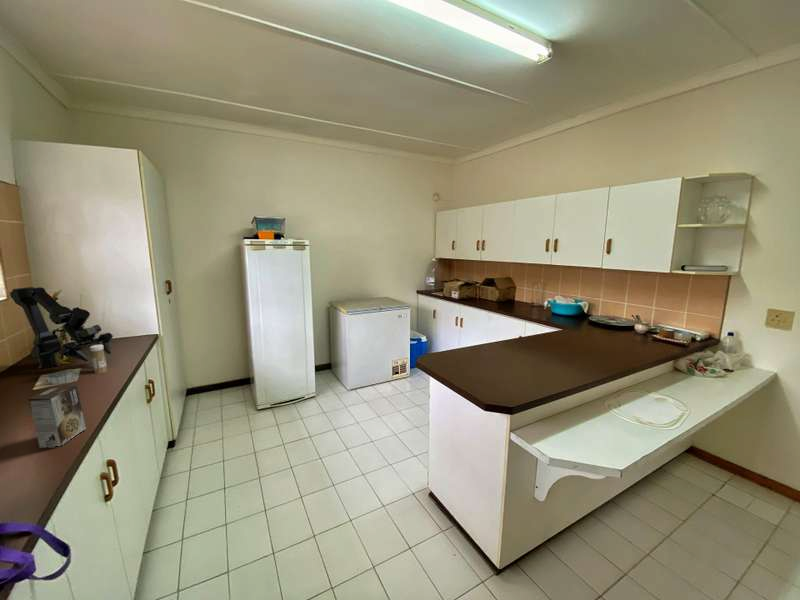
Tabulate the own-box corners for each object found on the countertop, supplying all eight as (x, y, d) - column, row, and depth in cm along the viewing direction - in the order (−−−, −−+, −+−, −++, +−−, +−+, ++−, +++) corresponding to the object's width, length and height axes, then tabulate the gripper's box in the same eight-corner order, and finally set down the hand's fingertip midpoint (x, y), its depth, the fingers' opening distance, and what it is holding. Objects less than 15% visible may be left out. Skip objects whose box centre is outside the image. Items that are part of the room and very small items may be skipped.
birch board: (41, 377, 147) (40, 375, 147) (81, 370, 155) (80, 368, 155) (33, 392, 133) (32, 389, 133) (77, 383, 141) (77, 380, 141)
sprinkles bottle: (107, 374, 151) (102, 346, 148) (93, 376, 148) (88, 348, 146) (108, 370, 155) (103, 343, 152) (95, 372, 152) (90, 345, 150)
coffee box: (66, 430, 107) (56, 384, 104) (87, 429, 107) (78, 384, 104) (38, 448, 98) (26, 398, 95) (61, 447, 98) (50, 397, 95)
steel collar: (50, 379, 143) (49, 372, 142) (79, 374, 148) (77, 367, 148) (47, 386, 136) (45, 379, 135) (76, 380, 142) (75, 374, 141)
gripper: (58, 326, 139) (81, 353, 138) (106, 316, 157) (127, 340, 156) (49, 342, 143) (72, 368, 142) (97, 331, 160) (118, 354, 160)
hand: (99, 357), depth 150 cm, fingers open, 9 cm apart
